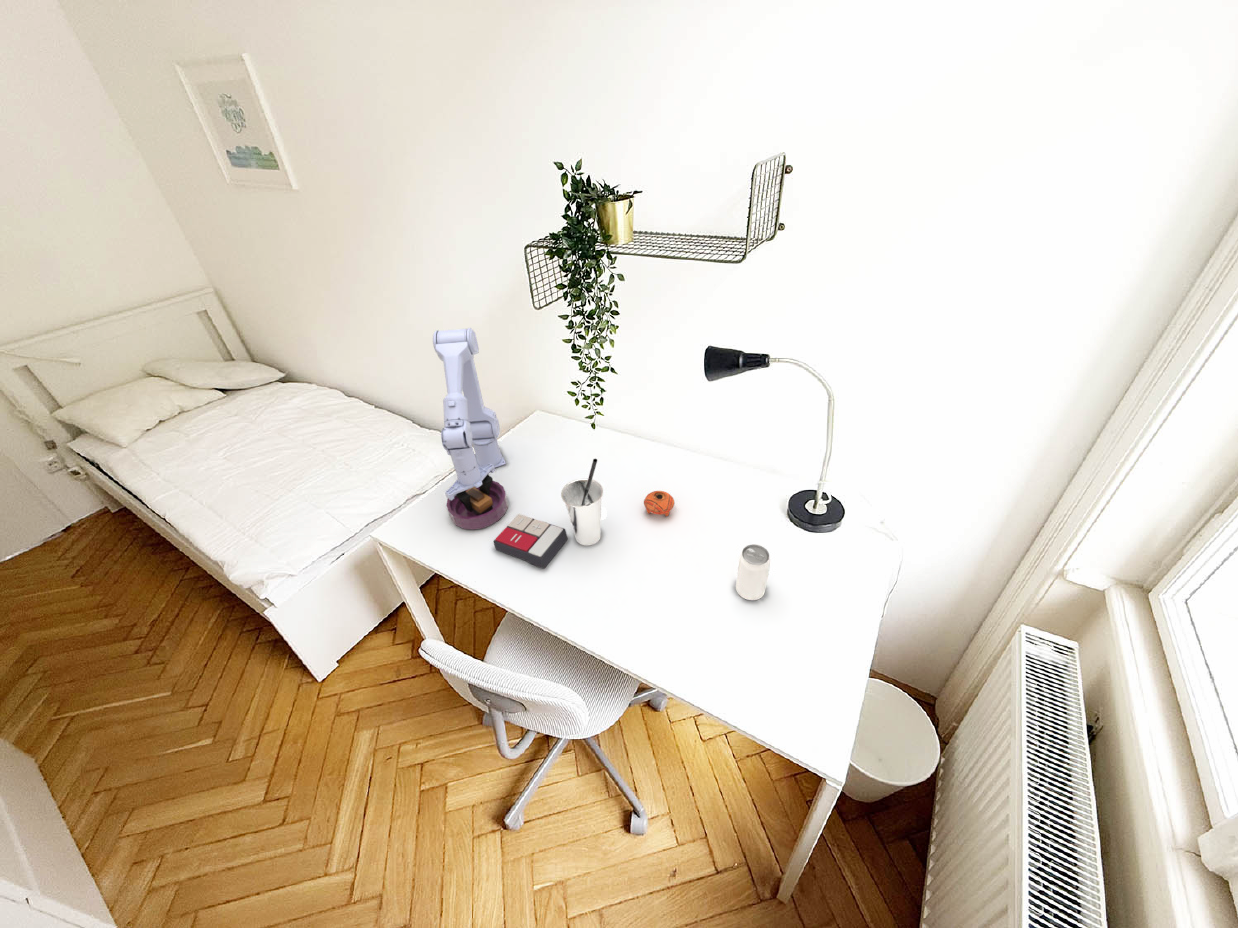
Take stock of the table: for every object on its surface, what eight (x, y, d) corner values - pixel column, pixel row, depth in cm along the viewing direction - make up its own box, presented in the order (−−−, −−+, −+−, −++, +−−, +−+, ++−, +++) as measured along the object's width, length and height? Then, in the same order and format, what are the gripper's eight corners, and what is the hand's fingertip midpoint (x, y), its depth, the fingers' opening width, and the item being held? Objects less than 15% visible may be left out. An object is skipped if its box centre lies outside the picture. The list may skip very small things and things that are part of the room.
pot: (645, 498, 144) (650, 480, 140) (672, 507, 144) (678, 489, 139) (638, 518, 138) (643, 499, 134) (666, 527, 137) (673, 509, 133)
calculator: (518, 511, 138) (565, 526, 132) (521, 523, 141) (568, 538, 134) (491, 539, 131) (540, 557, 124) (495, 551, 134) (544, 569, 127)
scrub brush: (464, 507, 145) (459, 492, 142) (476, 498, 148) (472, 483, 144) (482, 519, 141) (477, 504, 138) (495, 510, 144) (490, 495, 140)
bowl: (446, 502, 148) (441, 490, 145) (499, 484, 153) (496, 472, 150) (457, 538, 137) (452, 526, 134) (515, 518, 142) (511, 506, 139)
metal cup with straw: (607, 556, 129) (596, 461, 111) (563, 551, 131) (545, 457, 113) (615, 524, 138) (607, 431, 119) (574, 520, 140) (559, 428, 121)
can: (744, 573, 123) (749, 538, 115) (769, 587, 119) (776, 551, 112) (730, 592, 119) (734, 556, 111) (756, 606, 116) (762, 570, 108)
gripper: (451, 486, 129) (465, 525, 137) (497, 456, 137) (507, 495, 146) (435, 475, 132) (449, 514, 141) (480, 447, 141) (491, 485, 149)
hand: (477, 504), depth 144 cm, fingers open, 5 cm apart
